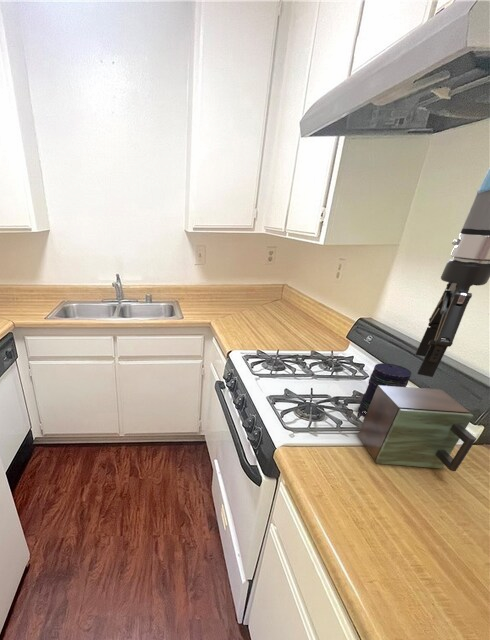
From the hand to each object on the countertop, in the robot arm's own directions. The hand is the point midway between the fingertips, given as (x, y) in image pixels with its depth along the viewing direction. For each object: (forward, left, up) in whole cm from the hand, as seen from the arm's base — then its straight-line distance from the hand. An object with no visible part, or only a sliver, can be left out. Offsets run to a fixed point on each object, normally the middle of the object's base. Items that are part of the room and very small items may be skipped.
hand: (423, 364), depth 78 cm
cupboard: (+1, -5, -25) cm, 26 cm away
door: (-9, -2, -25) cm, 26 cm away
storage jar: (+19, -14, -25) cm, 34 cm away
